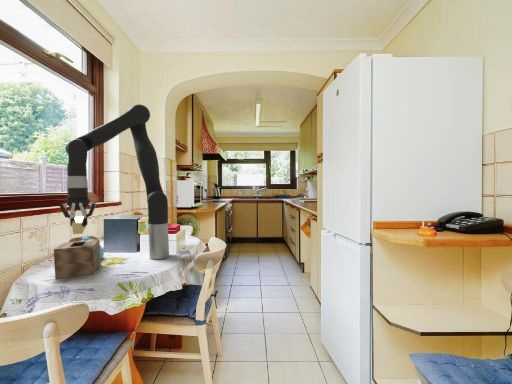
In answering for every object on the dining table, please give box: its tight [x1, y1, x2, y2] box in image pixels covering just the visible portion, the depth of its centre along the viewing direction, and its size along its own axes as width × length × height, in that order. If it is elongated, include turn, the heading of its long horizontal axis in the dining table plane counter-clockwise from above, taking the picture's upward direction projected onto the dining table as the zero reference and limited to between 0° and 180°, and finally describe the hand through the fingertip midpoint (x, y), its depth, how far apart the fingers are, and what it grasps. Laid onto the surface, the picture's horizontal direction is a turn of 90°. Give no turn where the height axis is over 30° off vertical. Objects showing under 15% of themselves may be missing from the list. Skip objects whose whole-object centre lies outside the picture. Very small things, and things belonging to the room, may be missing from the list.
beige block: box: [71, 215, 87, 235], centre depth 124 cm, size 4×7×5 cm, turn 19°
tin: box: [68, 235, 99, 242], centre depth 161 cm, size 15×3×8 cm, turn 114°
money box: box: [53, 239, 101, 279], centre depth 125 cm, size 14×14×12 cm
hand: (79, 226), depth 124 cm, fingers closed on beige block, 3 cm apart
